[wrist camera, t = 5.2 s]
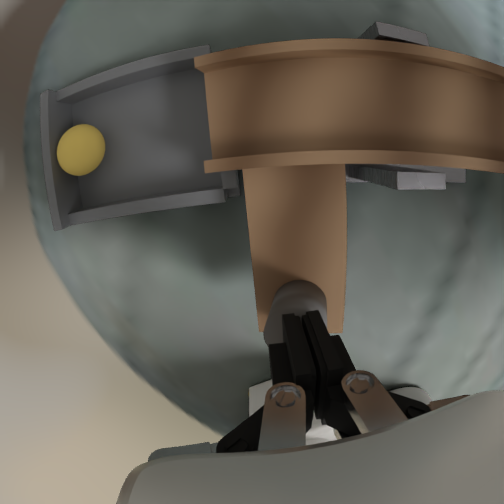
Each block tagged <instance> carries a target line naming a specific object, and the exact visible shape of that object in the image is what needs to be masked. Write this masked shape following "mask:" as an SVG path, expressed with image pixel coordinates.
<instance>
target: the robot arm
mask: <svg viewBox="0 0 504 504" xmlns="http://www.w3.org/2000/svg"><path fill="white" fill-rule="evenodd" d="M282 329H283V343H274V344H268V346H269V358H270V368H271V378H272V387H271V388H269V390H268V391H267V393H266V396H265V403H264V405H263V406H262V407H261V408H260V409H258V410H257V411H256V412H255V413H254V414H252V415H251V416H250V417H249V418H247V419H246V420H245V421H244V422H242V423H241V424H240V425H239V426H237V427H236V428H235V429H234V430H232V431H231V432H230V433H228V434H227V435H226V436H224V437H223V438H222V439H221V440H220V441H219V442H218V443H213V444H210V443H209V442H205V443H200V444H193V445H186V446H179V447H171V448H162V449H158V450H156V451H154V452H153V453H151V455H150V456H149V458H148V462H146V463H143V464H141V465H139V466H137V467H136V468H134V469H133V470H132V471H131V472H130V473H129V475H128V476H127V478H126V480H125V482H124V484H123V486H122V488H121V491H120V494H119V497H118V500H117V503H116V504H504V390H492V391H485V392H480V393H476V394H473V395H462V396H458V397H453V398H448V399H443V400H437V401H431V402H429V404H428V405H426V404H425V403H423V402H421V401H418V400H414V399H411V398H408V397H405V396H402V395H399V394H396V393H393V392H390V391H387V390H386V389H385V388H384V387H383V385H382V384H381V383H380V382H379V380H378V379H377V378H376V377H375V376H374V375H373V374H372V373H370V372H367V371H363V370H357V371H356V369H355V367H354V365H353V363H352V361H351V359H350V356H349V354H348V352H347V350H346V348H345V346H344V344H343V342H342V340H341V338H340V336H339V335H334V336H330V335H329V332H328V330H327V328H326V325H325V323H324V321H323V319H322V316H321V314H320V312H319V310H314V311H307V312H306V315H302V323H301V320H300V317H299V316H295V314H294V313H290V314H282ZM314 413H315V417H316V419H321V423H322V425H327V426H330V427H332V428H333V432H334V435H335V437H336V439H337V440H333V441H328V442H323V443H317V444H312V445H306V433H307V432H308V431H309V430H310V429H311V427H312V420H313V415H314Z"/></svg>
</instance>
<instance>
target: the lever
mask: <svg viewBox="0 0 504 504" xmlns="http://www.w3.org/2000/svg"><path fill="white" fill-rule="evenodd" d="M194 64H195V68H196V69H198V70H200V71H201V72H203V73H204V77H205V89H206V100H207V111H208V121H209V131H210V140H211V150H212V159H213V160H206V161H204V169H205V173H212V172H220V171H230V170H240V169H242V171H243V181H244V190H245V200H246V210H247V220H248V229H249V239H250V249H251V258H252V268H253V277H254V287H255V297H256V306H257V316H258V325H259V332H264V340H265V342H266V344H267V346H268V344H274V343H283V329H282V314H290V313H294V314H295V316H299V317H300V320H301V323H302V315H306V312H307V311H314V310H319V312H320V314H321V316H322V319H323V321H324V323H325V325H326V328H327V330H328V332H329V333H342V332H343V320H344V306H345V288H346V262H347V202H346V176H345V164H403V165H424V166H439V167H451V168H462V169H472V170H480V171H488V172H496V173H503V174H504V67H502V66H499V65H496V64H493V63H491V62H488V61H484V60H481V59H478V58H475V57H471V56H468V55H464V54H460V53H456V52H452V51H448V50H443V49H439V48H434V47H428V46H423V45H417V44H410V43H403V42H394V41H384V40H371V39H348V38H327V39H303V40H290V41H280V42H271V43H263V44H256V45H250V46H244V47H238V48H233V49H228V50H223V51H218V52H214V53H209V54H205V55H201V56H197V57H194ZM268 347H269V346H268Z"/></svg>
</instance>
